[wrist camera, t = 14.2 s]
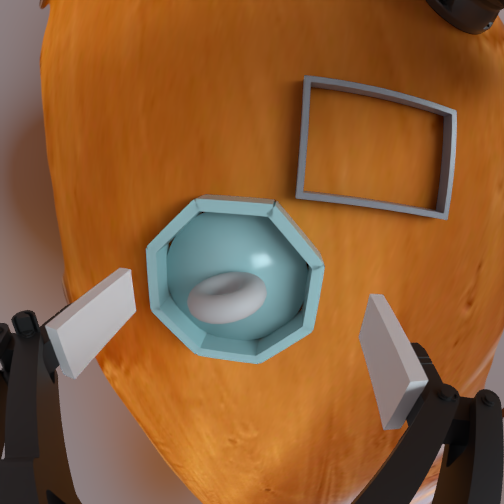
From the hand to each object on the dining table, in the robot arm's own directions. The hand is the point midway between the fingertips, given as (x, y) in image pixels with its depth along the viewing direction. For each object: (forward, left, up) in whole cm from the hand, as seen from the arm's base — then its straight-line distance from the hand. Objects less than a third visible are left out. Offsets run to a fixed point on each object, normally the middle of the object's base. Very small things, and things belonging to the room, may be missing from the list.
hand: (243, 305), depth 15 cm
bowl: (+4, +9, -24) cm, 26 cm away
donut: (+4, +9, -23) cm, 25 cm away
